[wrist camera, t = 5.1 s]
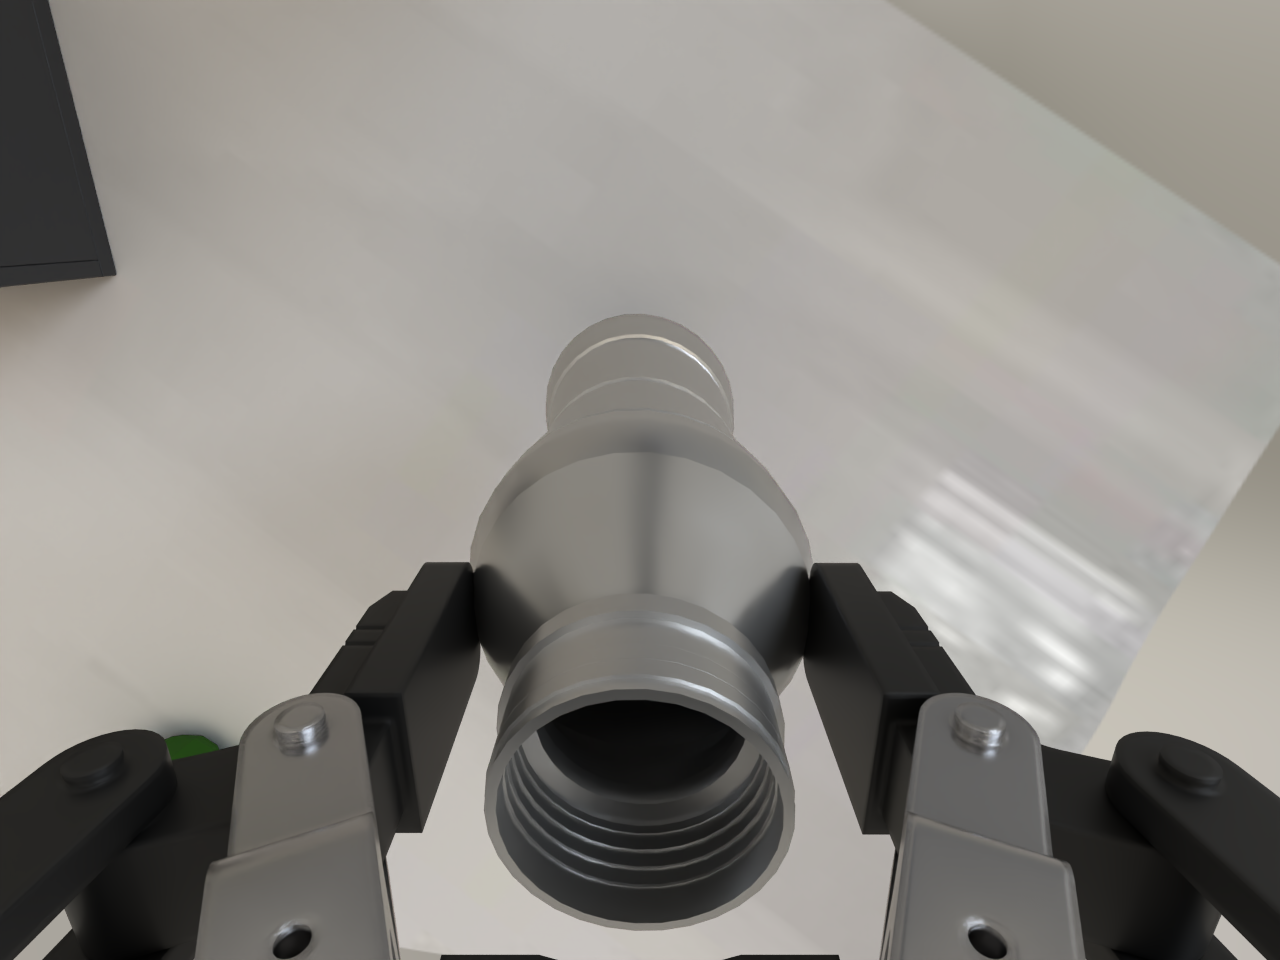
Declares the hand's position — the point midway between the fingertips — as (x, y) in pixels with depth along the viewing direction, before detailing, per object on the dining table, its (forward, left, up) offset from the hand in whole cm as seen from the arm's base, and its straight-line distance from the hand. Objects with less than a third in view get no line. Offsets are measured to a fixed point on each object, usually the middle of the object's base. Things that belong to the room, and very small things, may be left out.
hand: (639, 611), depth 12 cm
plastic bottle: (0, 0, -16) cm, 16 cm away
